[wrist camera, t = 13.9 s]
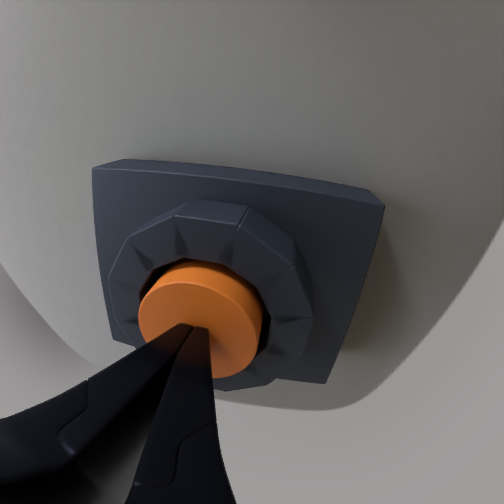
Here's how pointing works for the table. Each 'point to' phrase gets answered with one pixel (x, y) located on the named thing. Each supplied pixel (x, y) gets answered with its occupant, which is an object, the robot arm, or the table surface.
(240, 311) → the button
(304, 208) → the switch block
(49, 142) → the table surface
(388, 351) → the table surface
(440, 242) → the table surface
